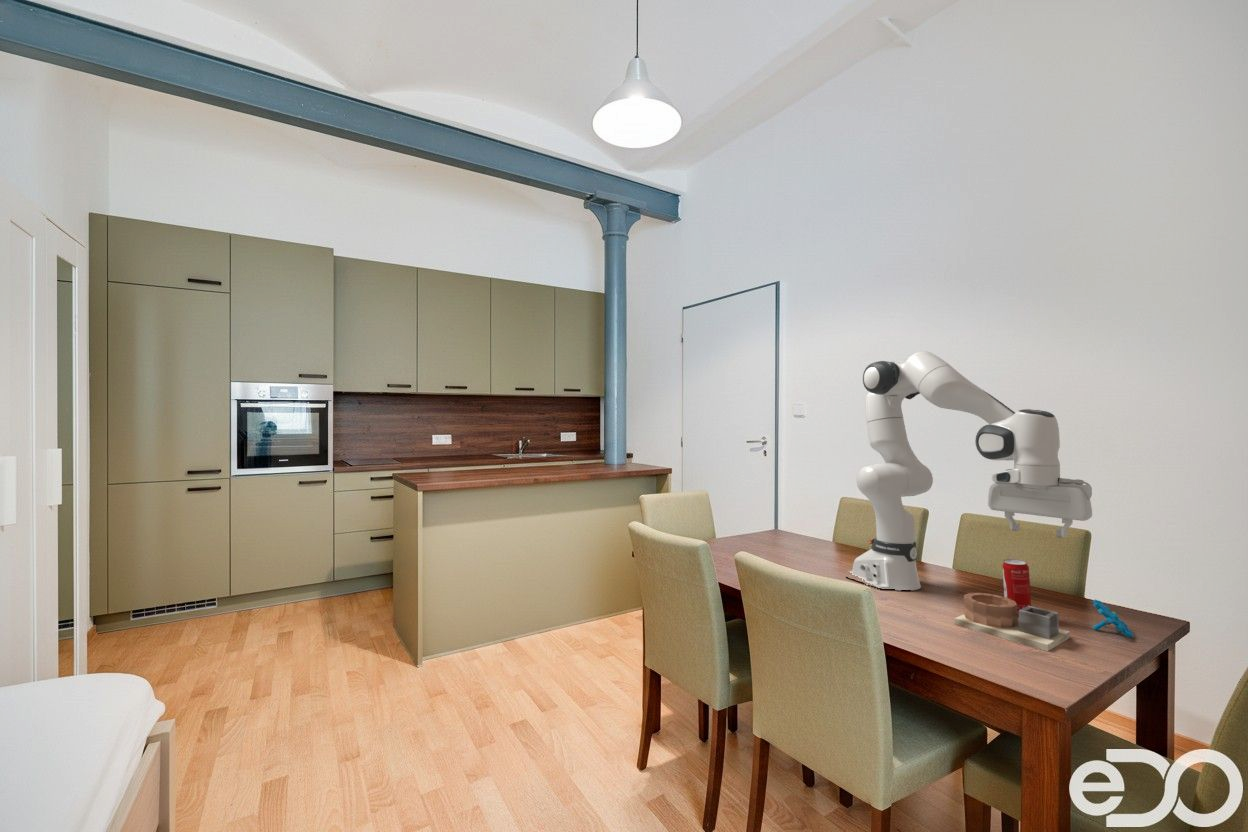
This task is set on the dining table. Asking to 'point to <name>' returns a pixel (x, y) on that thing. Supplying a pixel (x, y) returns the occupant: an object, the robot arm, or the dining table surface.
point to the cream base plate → (1011, 621)
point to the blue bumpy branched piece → (1111, 619)
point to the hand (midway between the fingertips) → (1037, 533)
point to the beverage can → (1017, 582)
